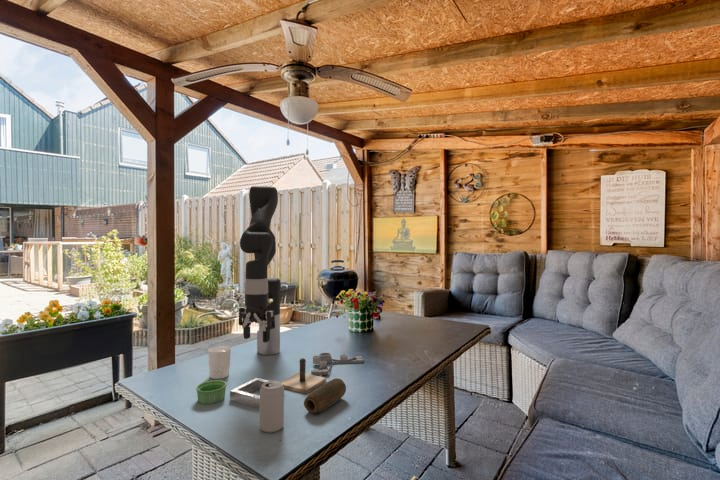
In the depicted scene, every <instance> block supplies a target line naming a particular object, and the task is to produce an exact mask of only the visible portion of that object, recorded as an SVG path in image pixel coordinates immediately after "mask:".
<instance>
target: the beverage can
mask: <svg viewBox="0 0 720 480" xmlns="http://www.w3.org/2000/svg"><path fill="white" fill-rule="evenodd" d="M282 385H283V384H282V381H280V380H268V381H267V382H265V383H263V384H262V385H261V389H259V395H260V408H259V429H260V431H263V432H264V433H267V434H268V433H269V434H270V433H277V432H278V431H280V430H281V429H282V428H283V426H284V425H285V424H284V423H285V422H284V420H285V419H284V417H285V409H284V407H285V389H284V387H283V386H282Z"/></svg>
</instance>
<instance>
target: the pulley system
mask: <svg viewBox="0 0 720 480" xmlns="http://www.w3.org/2000/svg"><path fill="white" fill-rule="evenodd" d="M339 358H340V359H335V358H333V357H332V353H331V352H323V353H322V352H321V353H319V355H313V356H312V364H313V365H319V368H315V369H311V370H310V372H311V374H310V375H315V376H318V375H323V376H324V375H328V374H329V373H330V371H331V369H332V366H333V365H346V364H362V363H364V358H363V356H361V355H357V356H355V357H351V358H349V357H348V355H347V354H341V355H340V357H339ZM348 358H349V359H348ZM332 360H333V361H332ZM337 361H338V362H337ZM330 362H331V363H330ZM327 363H328V364H330V366H329V368H328V364H327ZM332 364H333V365H332Z"/></svg>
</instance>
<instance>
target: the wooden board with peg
mask: <svg viewBox="0 0 720 480" xmlns="http://www.w3.org/2000/svg"><path fill="white" fill-rule="evenodd" d="M306 362H307V361H306V358H303V357H302V358H300V359H299V371H298V372H296V373H295V374H292V375H290V376H289V377H287V378H285V379H284V380H282V381H281V382H282V384H284V390H285V389H286V390H290V391H293V392H298V393H302V394H304V395H305V394H306V395H307V394H310V392H313V391H314V390H316V389H317V388H319V387H320V386H322V385H323V384H325V383H326V382H327V378H326V377H325V376H319V375H312V374H310V373H306Z"/></svg>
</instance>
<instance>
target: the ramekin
mask: <svg viewBox="0 0 720 480" xmlns="http://www.w3.org/2000/svg"><path fill="white" fill-rule="evenodd" d="M195 387H196V388H195V389H196V392H197V393H196V394H197V401H198V402H199V404H202V405H212V404H216V403H219V402H221V401H222V400H223V399H225V397H226V387H227V382H226V381H224V380H220V379H214V380H207V381H203V382H201V383H199V384H198V385H197V386H195Z"/></svg>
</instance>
